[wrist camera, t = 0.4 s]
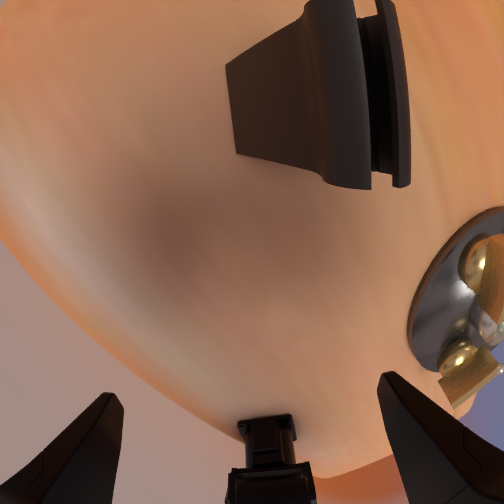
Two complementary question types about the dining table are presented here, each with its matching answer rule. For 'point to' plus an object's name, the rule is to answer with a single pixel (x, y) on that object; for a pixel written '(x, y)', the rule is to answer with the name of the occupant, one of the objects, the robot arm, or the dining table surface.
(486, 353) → the wing knob
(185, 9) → the dining table surface
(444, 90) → the dining table surface
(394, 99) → the phone stand
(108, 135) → the dining table surface
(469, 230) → the levelling base
